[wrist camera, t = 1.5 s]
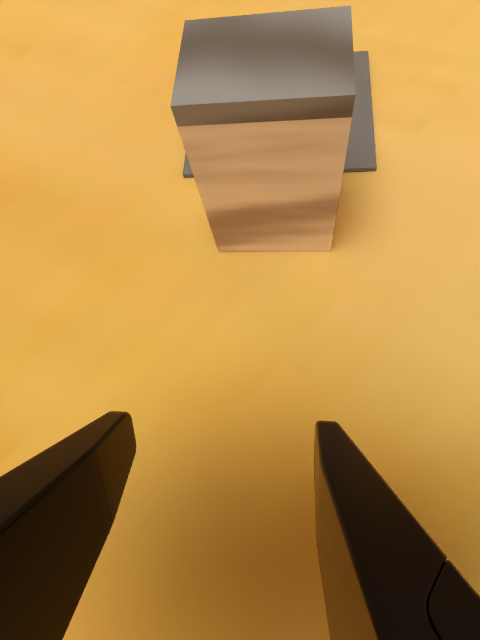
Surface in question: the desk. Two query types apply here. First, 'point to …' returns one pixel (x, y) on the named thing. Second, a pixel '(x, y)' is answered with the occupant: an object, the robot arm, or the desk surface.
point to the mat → (352, 123)
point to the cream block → (267, 124)
